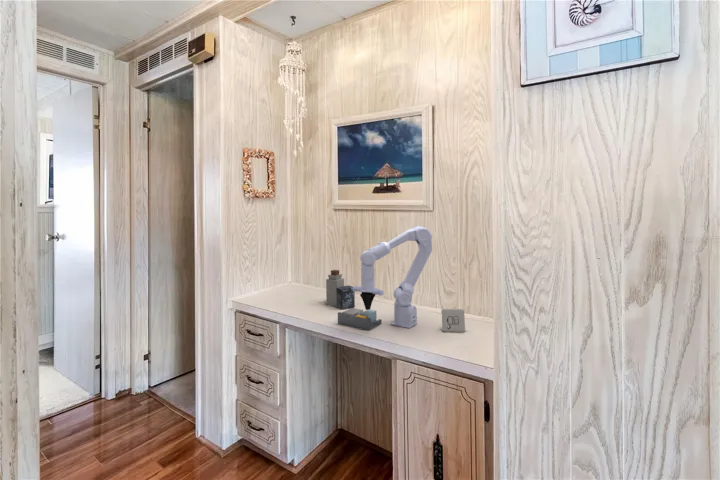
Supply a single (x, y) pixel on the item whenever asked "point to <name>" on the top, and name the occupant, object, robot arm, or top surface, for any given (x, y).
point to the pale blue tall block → (370, 314)
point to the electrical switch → (453, 320)
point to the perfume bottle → (333, 287)
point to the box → (345, 297)
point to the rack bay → (357, 319)
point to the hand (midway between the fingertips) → (367, 309)
